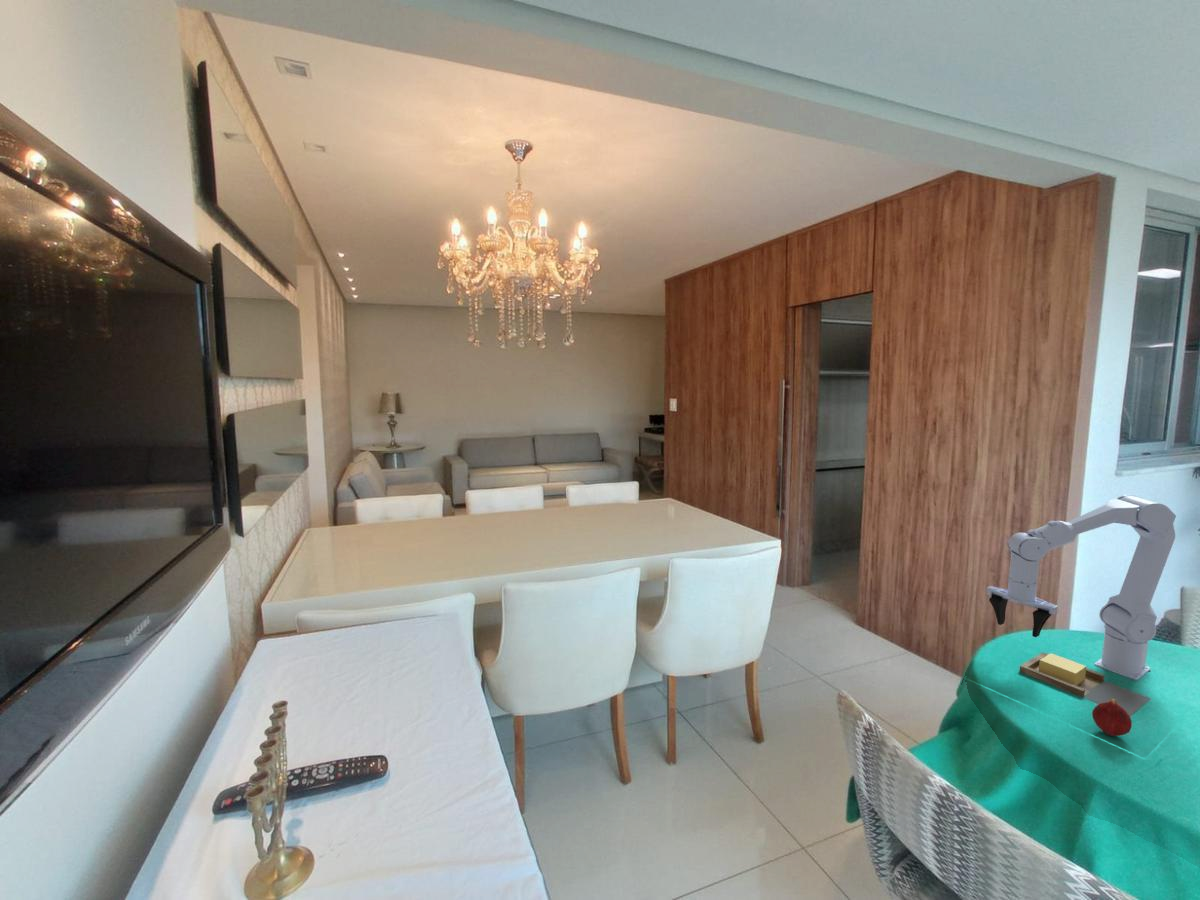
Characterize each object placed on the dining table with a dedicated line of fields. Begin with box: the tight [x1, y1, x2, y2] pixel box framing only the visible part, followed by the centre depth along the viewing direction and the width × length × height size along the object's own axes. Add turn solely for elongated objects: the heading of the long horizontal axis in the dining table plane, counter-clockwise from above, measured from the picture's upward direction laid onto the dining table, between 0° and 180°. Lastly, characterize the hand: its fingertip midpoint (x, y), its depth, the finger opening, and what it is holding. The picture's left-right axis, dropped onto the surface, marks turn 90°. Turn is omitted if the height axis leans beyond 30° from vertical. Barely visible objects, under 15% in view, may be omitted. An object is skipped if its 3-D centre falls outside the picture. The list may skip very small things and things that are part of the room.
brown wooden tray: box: [1019, 651, 1105, 698], centre depth 128 cm, size 12×12×2 cm
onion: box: [1091, 698, 1133, 737], centre depth 107 cm, size 6×6×8 cm
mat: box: [1082, 680, 1151, 718], centre depth 119 cm, size 12×8×1 cm, turn 119°
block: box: [1039, 652, 1087, 686], centre depth 127 cm, size 6×7×4 cm
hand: (1017, 629), depth 134 cm, fingers open, 7 cm apart
